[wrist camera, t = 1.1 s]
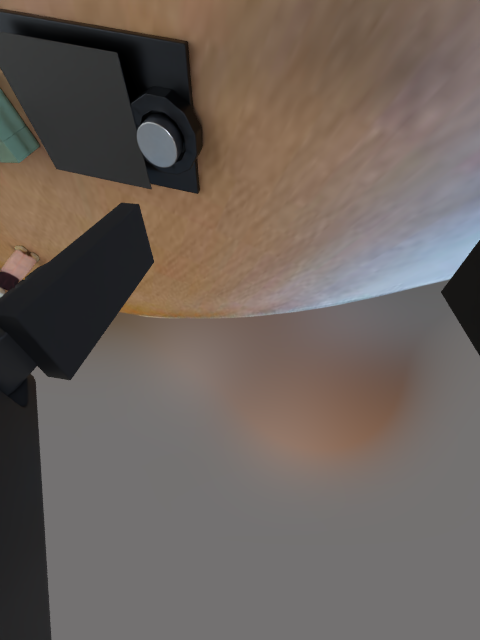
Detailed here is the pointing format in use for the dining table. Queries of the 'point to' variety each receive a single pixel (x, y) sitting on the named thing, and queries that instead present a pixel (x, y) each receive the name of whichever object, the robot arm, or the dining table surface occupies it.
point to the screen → (76, 106)
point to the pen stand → (14, 134)
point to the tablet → (136, 81)
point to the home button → (160, 140)
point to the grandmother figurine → (16, 268)
